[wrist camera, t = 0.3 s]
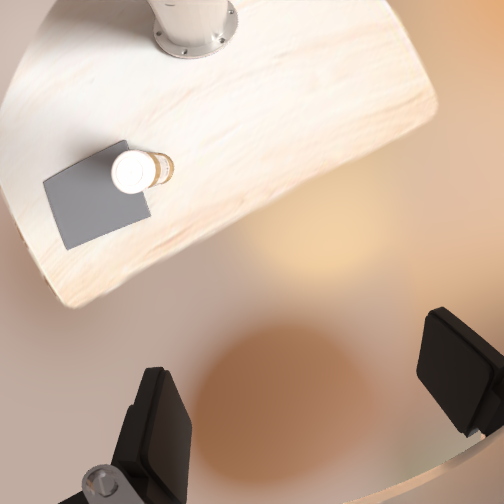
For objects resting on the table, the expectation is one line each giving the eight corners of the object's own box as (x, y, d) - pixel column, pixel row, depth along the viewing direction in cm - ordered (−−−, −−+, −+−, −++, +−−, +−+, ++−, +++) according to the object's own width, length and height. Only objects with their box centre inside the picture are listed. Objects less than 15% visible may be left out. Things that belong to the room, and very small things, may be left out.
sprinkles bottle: (148, 151, 39) (114, 146, 26) (178, 156, 40) (155, 153, 27) (141, 181, 40) (106, 190, 28) (171, 187, 41) (146, 198, 28)
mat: (68, 249, 42) (67, 250, 42) (45, 182, 39) (43, 182, 38) (151, 215, 42) (150, 216, 41) (126, 140, 38) (124, 140, 38)
